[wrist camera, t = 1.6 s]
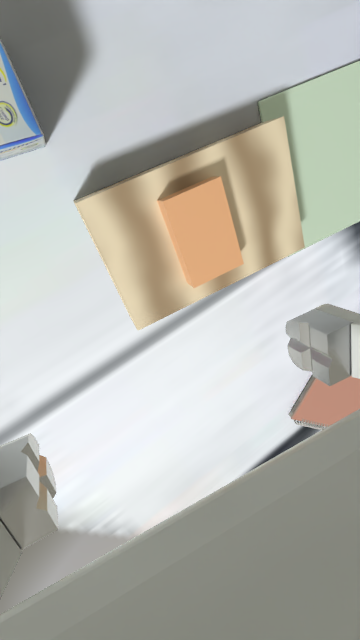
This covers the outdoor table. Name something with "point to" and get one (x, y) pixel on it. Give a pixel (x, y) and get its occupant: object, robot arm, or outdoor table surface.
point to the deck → (152, 234)
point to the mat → (323, 149)
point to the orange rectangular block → (202, 230)
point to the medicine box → (16, 114)
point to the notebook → (326, 402)
